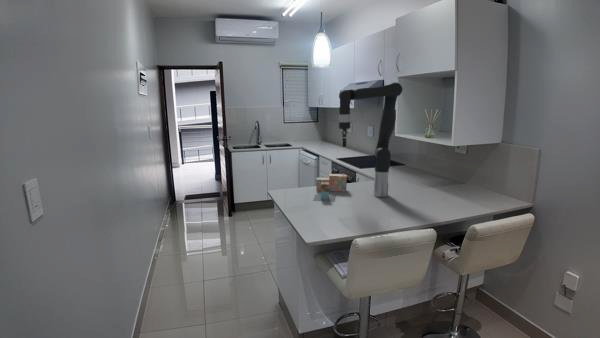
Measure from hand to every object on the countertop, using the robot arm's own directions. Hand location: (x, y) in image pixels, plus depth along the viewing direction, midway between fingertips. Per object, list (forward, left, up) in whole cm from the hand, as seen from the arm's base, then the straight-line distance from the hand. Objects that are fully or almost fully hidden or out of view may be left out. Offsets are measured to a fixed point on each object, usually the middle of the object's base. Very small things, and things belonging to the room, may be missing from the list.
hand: (344, 145), depth 218 cm
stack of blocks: (+9, -9, -35) cm, 37 cm away
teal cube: (+12, +12, -33) cm, 37 cm away
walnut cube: (+12, +12, -28) cm, 33 cm away
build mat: (+12, +12, -34) cm, 38 cm away
